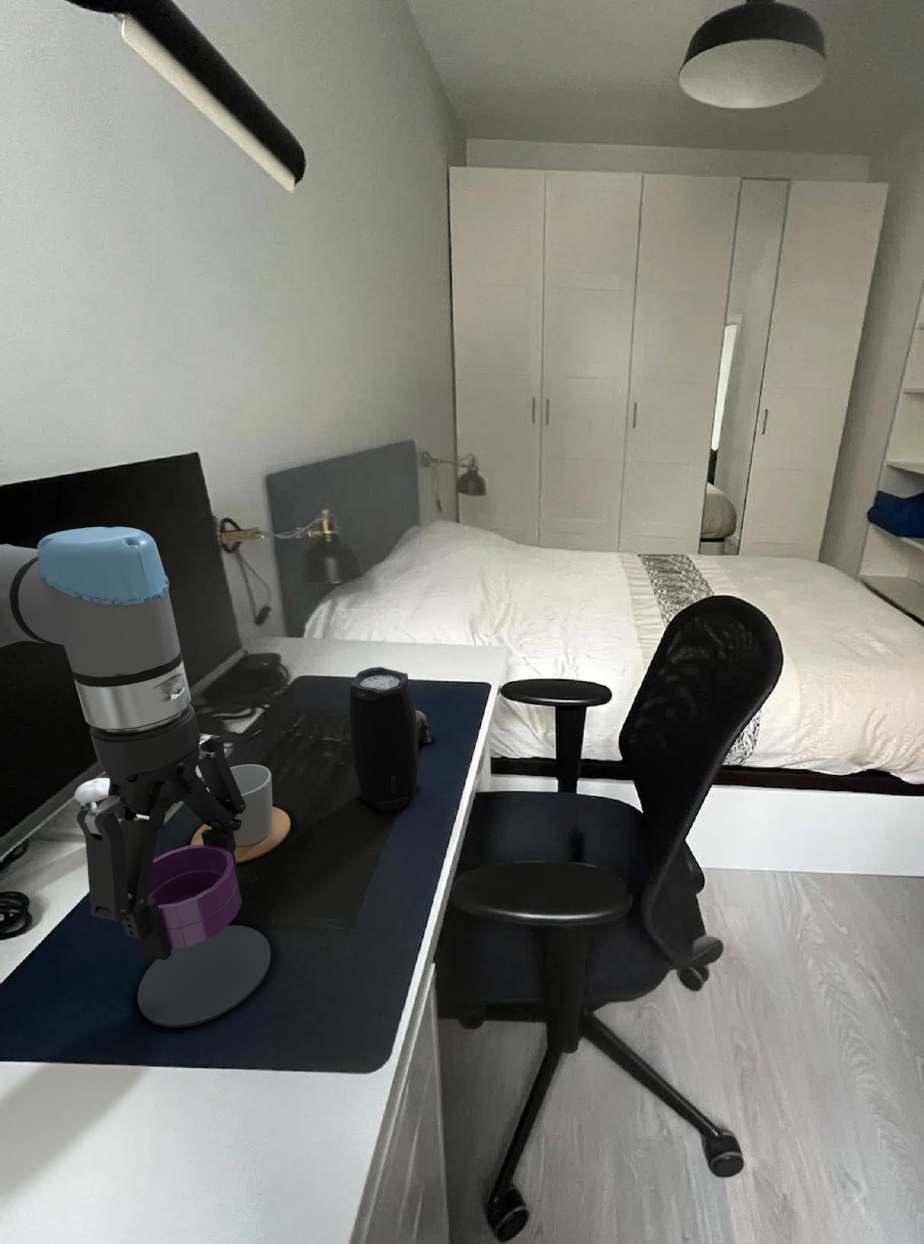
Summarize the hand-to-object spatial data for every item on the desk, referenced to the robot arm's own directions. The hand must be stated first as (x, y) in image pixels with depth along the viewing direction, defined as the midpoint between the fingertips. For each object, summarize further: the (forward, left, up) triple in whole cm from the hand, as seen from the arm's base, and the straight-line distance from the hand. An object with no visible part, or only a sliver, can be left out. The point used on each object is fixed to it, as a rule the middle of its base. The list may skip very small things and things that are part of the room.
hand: (193, 916), depth 62 cm
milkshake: (-26, +15, -8) cm, 31 cm away
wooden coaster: (-11, +20, -8) cm, 24 cm away
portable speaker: (+4, +33, -8) cm, 34 cm away
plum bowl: (0, 0, 0) cm, 0 cm away
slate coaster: (0, 0, -8) cm, 8 cm away
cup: (-11, +20, -8) cm, 24 cm away
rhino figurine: (-3, +50, -8) cm, 51 cm away
